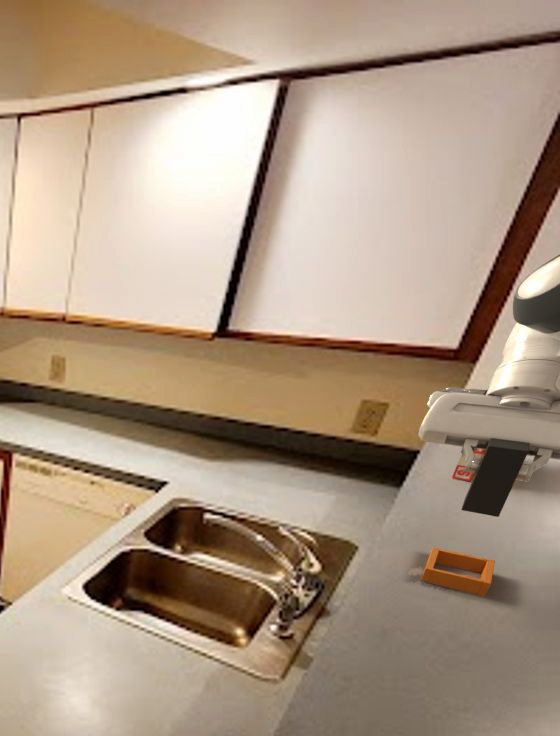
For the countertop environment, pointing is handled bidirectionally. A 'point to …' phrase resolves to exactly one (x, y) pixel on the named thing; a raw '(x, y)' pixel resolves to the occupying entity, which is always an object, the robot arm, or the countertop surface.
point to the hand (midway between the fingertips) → (496, 474)
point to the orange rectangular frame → (456, 579)
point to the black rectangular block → (495, 476)
